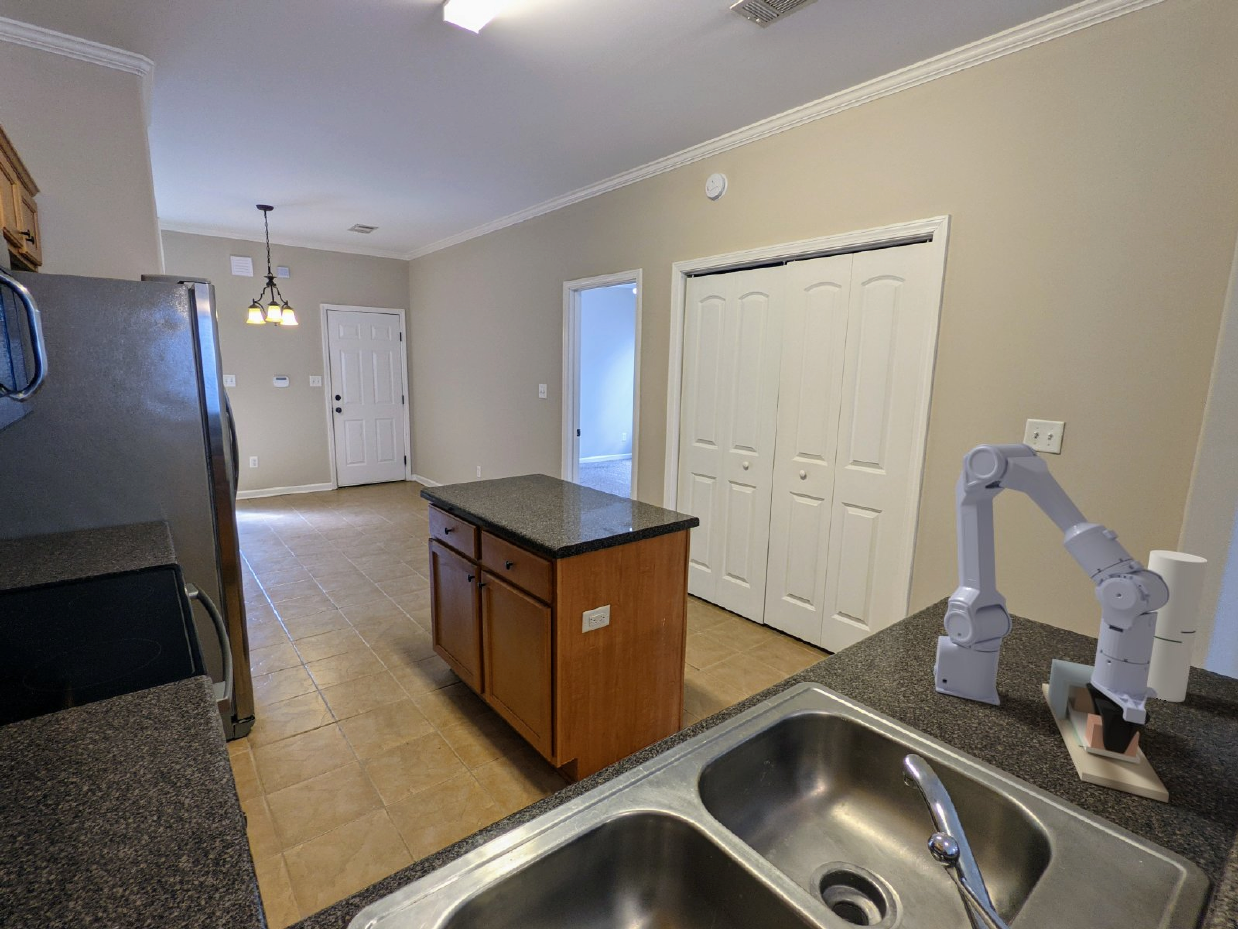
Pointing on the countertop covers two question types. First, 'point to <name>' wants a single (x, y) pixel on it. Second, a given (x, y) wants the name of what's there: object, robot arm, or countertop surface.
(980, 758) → the countertop surface
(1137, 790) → the board
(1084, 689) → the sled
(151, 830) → the countertop surface
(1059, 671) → the tunnel
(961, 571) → the robot arm
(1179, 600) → the cylindrical container
